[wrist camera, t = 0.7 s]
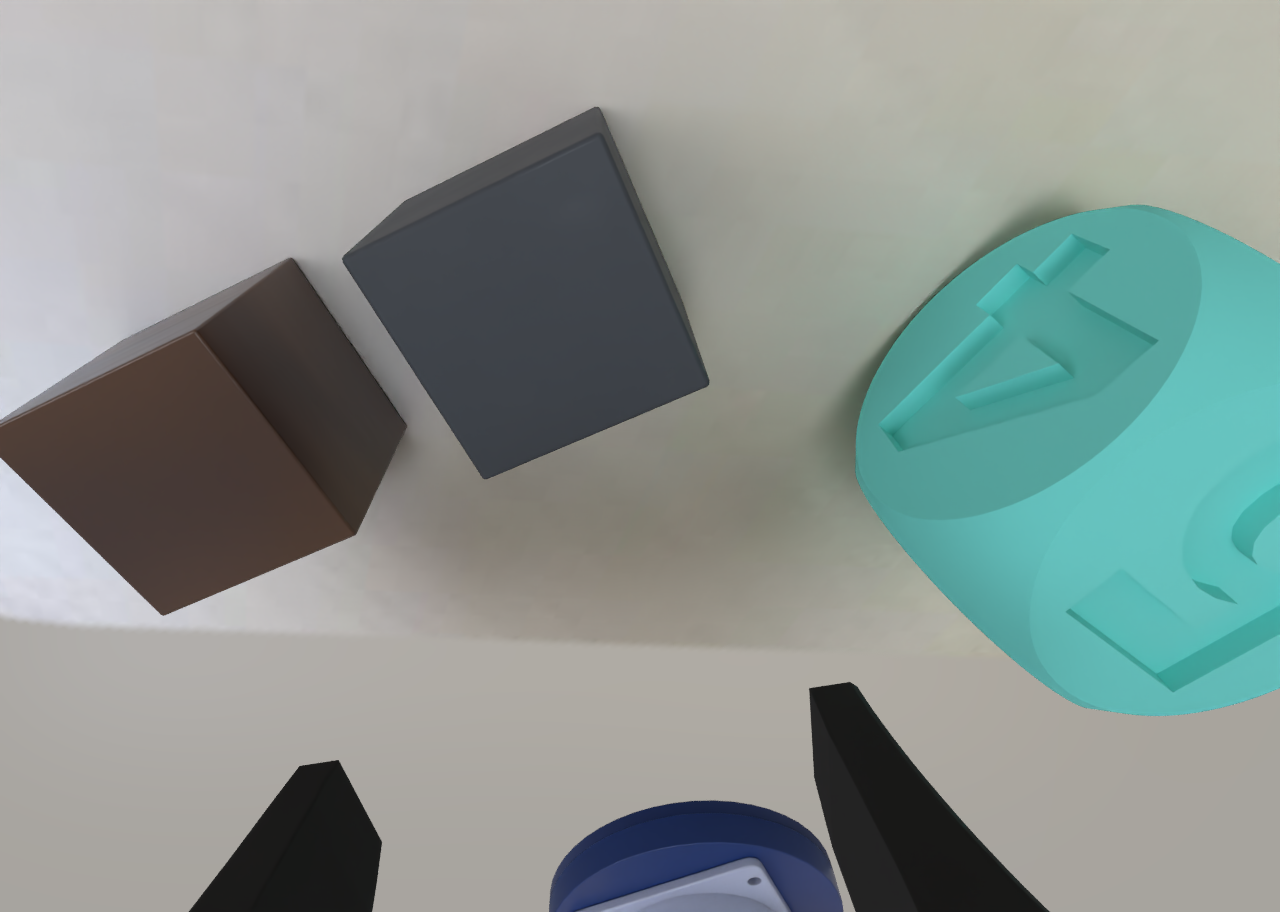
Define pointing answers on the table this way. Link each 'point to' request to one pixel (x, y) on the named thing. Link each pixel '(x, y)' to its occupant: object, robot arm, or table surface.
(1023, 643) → the decorative dice
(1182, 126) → the table surface
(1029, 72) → the table surface
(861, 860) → the robot arm
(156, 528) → the walnut block
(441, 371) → the grey block
